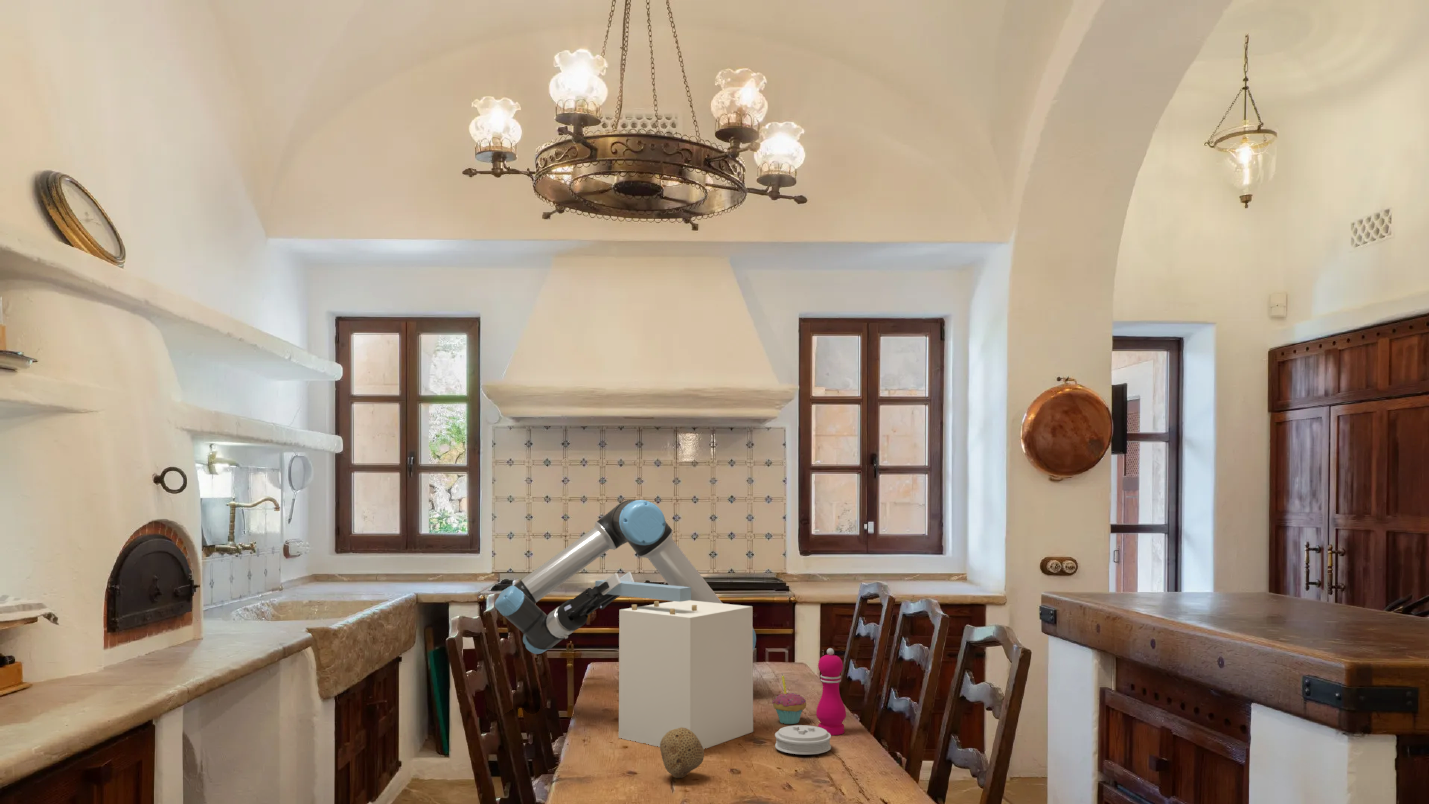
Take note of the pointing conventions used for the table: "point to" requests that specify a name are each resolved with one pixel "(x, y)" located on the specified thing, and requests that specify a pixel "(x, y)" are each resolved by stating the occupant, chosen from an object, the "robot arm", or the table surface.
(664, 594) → the batten
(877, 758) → the table surface
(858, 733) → the table surface
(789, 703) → the cupcake
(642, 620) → the plinth
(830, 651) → the pepper mill
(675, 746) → the natural sponge
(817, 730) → the lid
